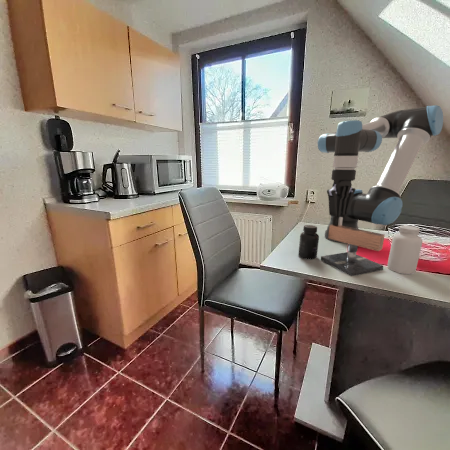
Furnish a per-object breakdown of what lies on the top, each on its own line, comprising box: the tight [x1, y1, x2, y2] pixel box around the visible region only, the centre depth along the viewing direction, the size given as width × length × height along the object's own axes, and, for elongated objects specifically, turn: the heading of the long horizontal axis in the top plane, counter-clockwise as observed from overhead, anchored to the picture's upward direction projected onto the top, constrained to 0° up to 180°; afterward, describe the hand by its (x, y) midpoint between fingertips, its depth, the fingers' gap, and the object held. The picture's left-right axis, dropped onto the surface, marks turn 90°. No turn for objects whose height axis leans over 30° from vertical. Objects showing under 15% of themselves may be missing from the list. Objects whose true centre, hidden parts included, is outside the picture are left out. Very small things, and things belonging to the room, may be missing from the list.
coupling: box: [328, 224, 386, 253], centre depth 85 cm, size 3×17×8 cm, turn 38°
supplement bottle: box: [298, 224, 320, 260], centre depth 93 cm, size 7×7×12 cm
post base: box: [320, 250, 384, 277], centre depth 87 cm, size 14×14×5 cm
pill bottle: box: [386, 224, 423, 275], centre depth 82 cm, size 8×8×15 cm
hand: (336, 233), depth 91 cm, fingers closed
